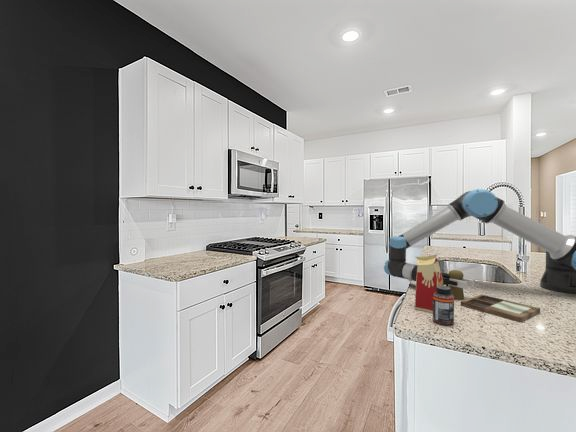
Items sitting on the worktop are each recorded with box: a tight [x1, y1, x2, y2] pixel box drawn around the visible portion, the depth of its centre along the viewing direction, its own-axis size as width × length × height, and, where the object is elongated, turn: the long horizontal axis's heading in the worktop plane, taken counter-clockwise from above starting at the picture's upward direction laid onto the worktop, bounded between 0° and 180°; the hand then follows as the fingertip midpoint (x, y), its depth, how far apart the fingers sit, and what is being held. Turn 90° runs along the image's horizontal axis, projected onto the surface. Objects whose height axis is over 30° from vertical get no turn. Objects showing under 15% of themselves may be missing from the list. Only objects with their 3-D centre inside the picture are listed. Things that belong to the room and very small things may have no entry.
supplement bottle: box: [432, 285, 455, 326], centre depth 92 cm, size 6×6×11 cm
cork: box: [448, 269, 465, 301], centre depth 116 cm, size 6×6×11 cm
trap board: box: [460, 294, 541, 323], centre depth 104 cm, size 16×18×2 cm
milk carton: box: [414, 253, 445, 314], centre depth 104 cm, size 9×9×20 cm
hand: (470, 284), depth 112 cm, fingers closed on cork, 4 cm apart
